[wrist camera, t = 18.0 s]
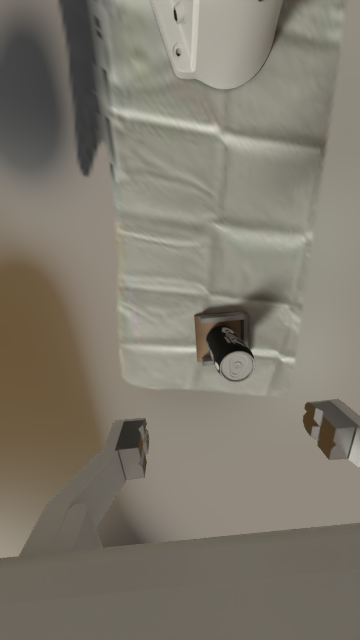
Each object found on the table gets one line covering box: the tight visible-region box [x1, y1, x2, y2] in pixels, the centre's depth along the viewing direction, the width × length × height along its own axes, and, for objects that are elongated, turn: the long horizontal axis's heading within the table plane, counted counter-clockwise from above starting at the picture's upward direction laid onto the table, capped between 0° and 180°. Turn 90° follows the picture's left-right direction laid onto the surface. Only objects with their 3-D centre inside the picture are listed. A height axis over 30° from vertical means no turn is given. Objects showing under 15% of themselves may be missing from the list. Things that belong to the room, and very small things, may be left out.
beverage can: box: [206, 326, 255, 382], centre depth 35 cm, size 7×7×12 cm
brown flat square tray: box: [194, 311, 249, 366], centre depth 40 cm, size 11×11×3 cm
